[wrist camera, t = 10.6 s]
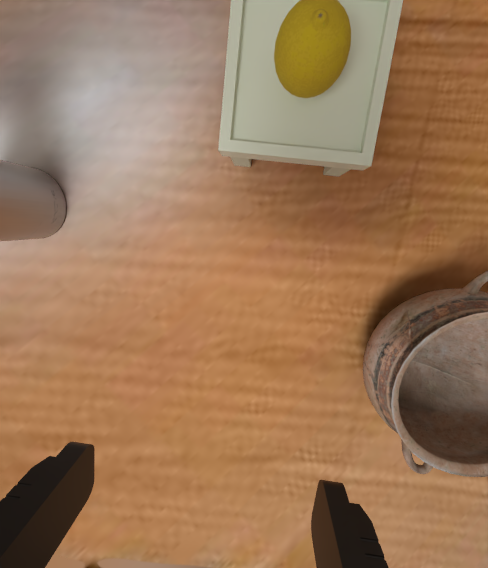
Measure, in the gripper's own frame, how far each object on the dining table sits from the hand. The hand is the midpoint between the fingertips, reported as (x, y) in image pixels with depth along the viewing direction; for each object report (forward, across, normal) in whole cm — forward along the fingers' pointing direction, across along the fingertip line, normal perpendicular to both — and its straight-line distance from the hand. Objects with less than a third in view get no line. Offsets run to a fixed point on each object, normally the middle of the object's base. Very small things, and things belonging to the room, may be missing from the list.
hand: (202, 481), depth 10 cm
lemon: (+21, -3, -22) cm, 31 cm away
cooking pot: (+30, -24, +5) cm, 39 cm away
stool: (+30, -3, -22) cm, 37 cm away
